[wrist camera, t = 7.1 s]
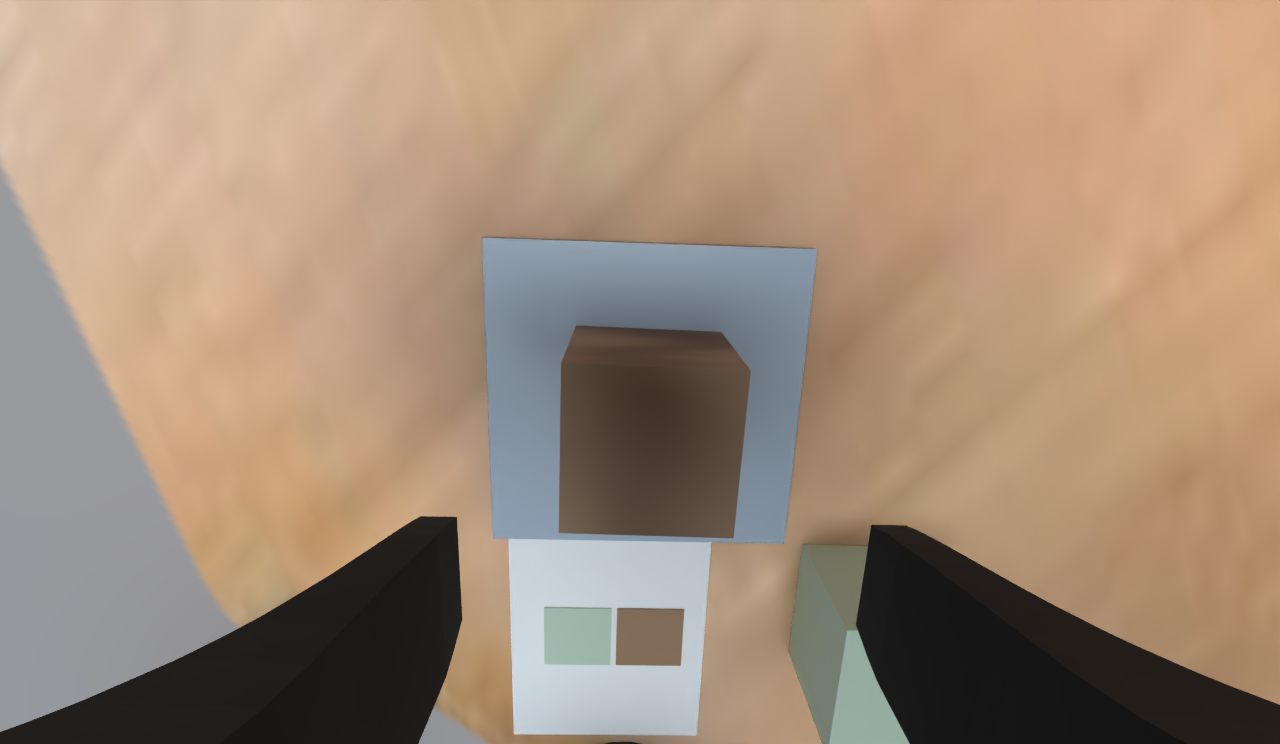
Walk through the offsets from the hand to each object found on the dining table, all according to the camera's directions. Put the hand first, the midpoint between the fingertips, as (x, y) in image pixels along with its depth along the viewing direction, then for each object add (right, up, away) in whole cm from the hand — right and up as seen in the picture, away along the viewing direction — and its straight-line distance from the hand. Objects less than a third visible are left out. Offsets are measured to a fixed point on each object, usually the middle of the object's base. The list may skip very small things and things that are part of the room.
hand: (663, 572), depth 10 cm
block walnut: (0, +3, +9) cm, 9 cm away
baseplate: (0, +3, +9) cm, 9 cm away
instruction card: (-2, -6, +11) cm, 13 cm away
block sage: (+7, -5, +11) cm, 15 cm away
